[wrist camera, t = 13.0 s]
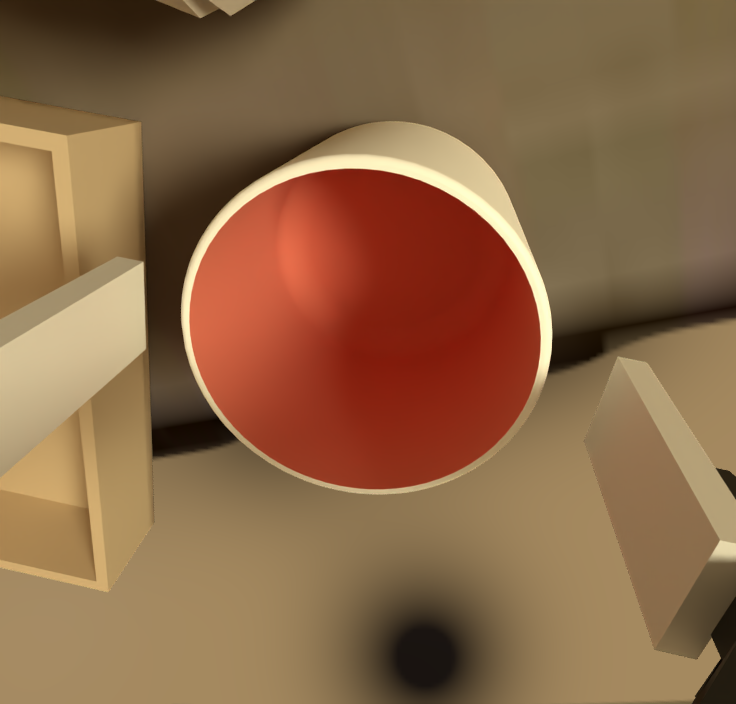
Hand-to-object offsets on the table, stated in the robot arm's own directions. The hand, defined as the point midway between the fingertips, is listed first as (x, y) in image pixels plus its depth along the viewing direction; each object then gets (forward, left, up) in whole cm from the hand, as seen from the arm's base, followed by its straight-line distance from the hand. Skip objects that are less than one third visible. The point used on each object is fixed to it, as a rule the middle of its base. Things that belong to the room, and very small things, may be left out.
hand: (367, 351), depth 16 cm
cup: (0, 0, -10) cm, 10 cm away
